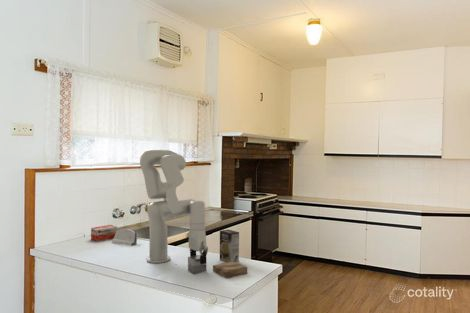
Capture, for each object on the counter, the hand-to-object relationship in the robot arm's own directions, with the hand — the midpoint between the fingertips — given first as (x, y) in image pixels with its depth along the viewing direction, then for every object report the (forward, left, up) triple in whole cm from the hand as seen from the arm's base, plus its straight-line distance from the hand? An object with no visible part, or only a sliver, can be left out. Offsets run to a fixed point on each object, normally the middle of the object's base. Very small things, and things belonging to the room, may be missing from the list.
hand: (198, 261), depth 173 cm
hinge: (-76, -11, -5) cm, 77 cm away
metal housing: (-1, 0, -5) cm, 5 cm away
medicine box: (-95, -18, -5) cm, 97 cm away
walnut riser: (+10, +12, -5) cm, 17 cm away
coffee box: (-5, +22, -5) cm, 23 cm away
